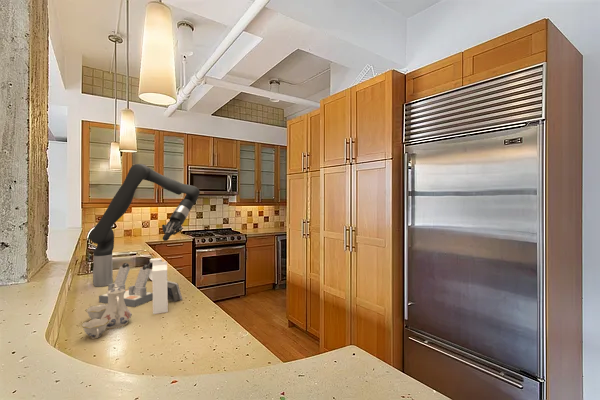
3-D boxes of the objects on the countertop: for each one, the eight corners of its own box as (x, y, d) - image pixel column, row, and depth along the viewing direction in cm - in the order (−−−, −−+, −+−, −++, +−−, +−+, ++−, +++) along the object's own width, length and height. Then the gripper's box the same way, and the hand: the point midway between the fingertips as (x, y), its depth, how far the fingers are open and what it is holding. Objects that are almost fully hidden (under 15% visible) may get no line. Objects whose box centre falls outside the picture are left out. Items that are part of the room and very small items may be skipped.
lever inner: (110, 289, 157) (120, 261, 162) (115, 290, 160) (124, 263, 165) (118, 290, 155) (128, 262, 161) (123, 291, 158) (132, 263, 163)
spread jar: (160, 275, 203) (160, 257, 203) (170, 278, 197) (170, 259, 196) (141, 279, 194) (141, 260, 193) (151, 282, 187) (151, 262, 187)
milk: (167, 312, 140) (167, 262, 139) (152, 314, 138) (152, 263, 137) (167, 307, 146) (167, 259, 145) (152, 309, 143) (152, 261, 143)
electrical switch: (182, 300, 156) (181, 281, 155) (173, 304, 151) (171, 285, 151) (171, 296, 161) (169, 279, 160) (161, 300, 157) (159, 282, 156)
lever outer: (131, 292, 153) (140, 263, 158) (136, 293, 156) (144, 265, 161) (139, 293, 151) (148, 264, 157) (144, 294, 154) (152, 265, 159)
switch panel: (99, 302, 153) (98, 287, 153) (120, 294, 165) (119, 280, 164) (135, 307, 146) (134, 291, 146) (154, 298, 158) (154, 284, 158)
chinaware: (83, 323, 133) (77, 284, 131) (127, 310, 142) (122, 274, 141) (84, 349, 110) (77, 303, 109) (137, 332, 119) (132, 289, 118)
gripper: (166, 210, 178) (150, 235, 167) (186, 211, 174) (171, 236, 163) (173, 219, 184) (158, 243, 172) (192, 219, 179) (178, 244, 168)
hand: (164, 239), depth 168 cm, fingers closed
